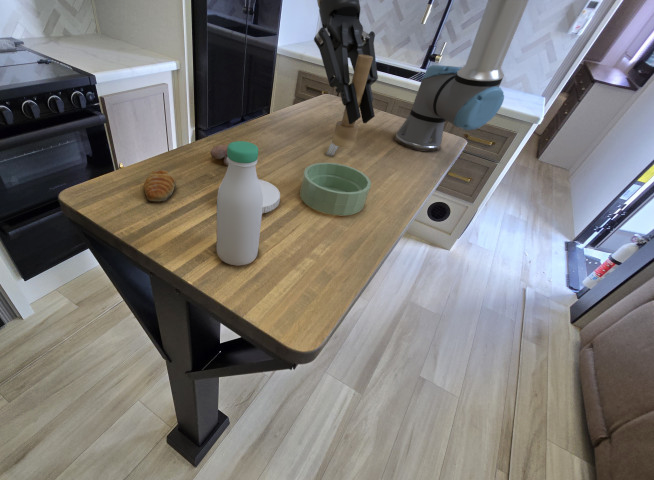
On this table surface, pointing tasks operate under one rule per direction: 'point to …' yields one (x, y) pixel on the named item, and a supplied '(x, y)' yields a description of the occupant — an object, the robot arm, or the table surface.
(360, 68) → the pestle
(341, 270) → the table surface
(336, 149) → the fork
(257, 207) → the milk bottle
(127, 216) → the table surface
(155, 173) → the pastry
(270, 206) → the plastic lid
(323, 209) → the bowl
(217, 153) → the mushroom
